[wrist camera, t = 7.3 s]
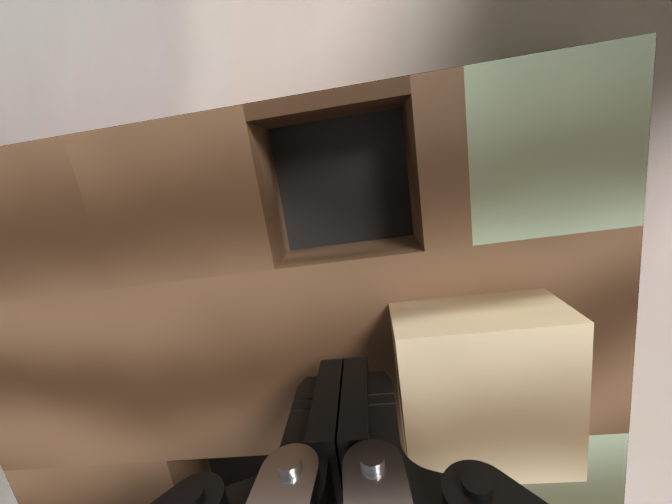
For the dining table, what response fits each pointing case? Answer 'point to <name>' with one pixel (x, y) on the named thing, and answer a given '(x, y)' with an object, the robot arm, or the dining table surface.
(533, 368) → the block
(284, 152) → the board
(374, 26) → the dining table surface
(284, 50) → the dining table surface
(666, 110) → the dining table surface
